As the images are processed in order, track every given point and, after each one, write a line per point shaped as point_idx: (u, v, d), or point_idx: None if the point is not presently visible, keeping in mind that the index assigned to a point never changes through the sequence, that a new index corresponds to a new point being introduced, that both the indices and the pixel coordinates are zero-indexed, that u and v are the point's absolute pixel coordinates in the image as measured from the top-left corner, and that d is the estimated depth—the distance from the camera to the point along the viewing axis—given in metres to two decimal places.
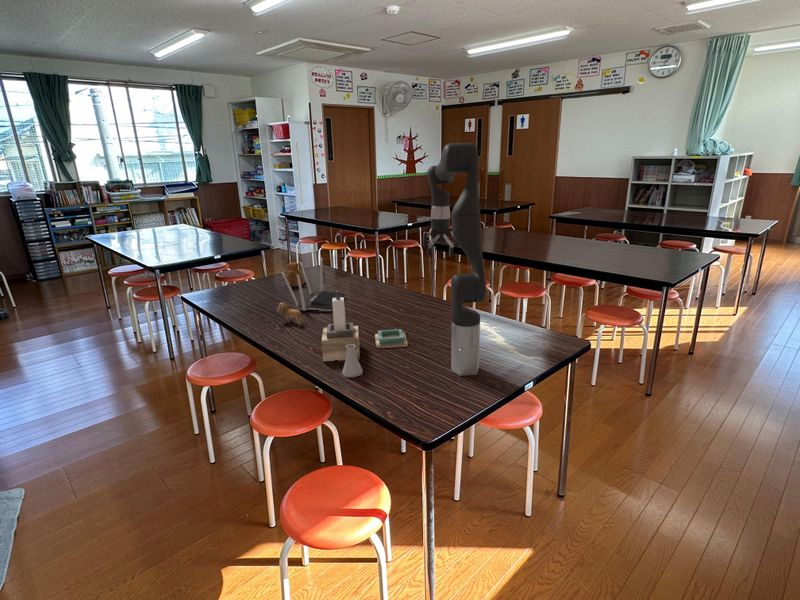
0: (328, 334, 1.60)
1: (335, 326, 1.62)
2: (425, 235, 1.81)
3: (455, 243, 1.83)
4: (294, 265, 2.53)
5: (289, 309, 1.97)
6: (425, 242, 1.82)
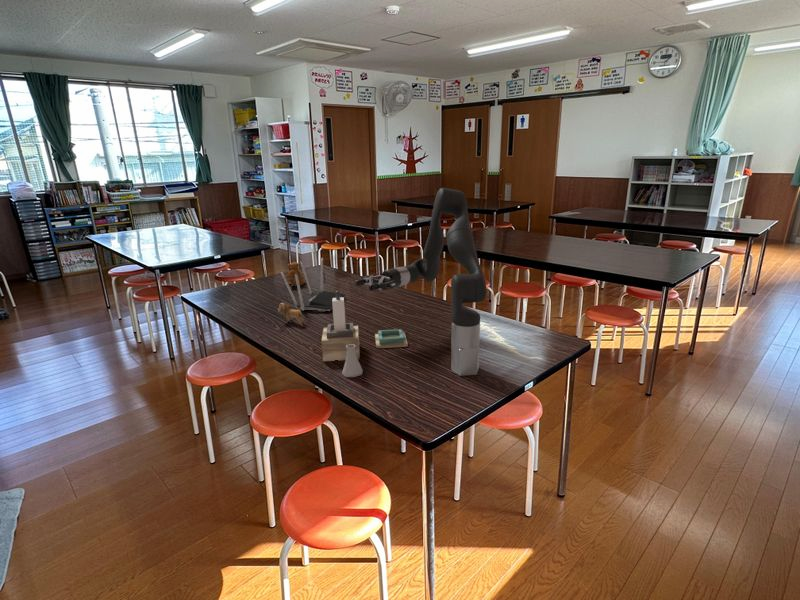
0: (328, 334, 1.60)
1: (335, 326, 1.62)
2: (372, 274, 1.77)
3: (384, 283, 1.65)
4: (294, 265, 2.54)
5: (290, 309, 1.97)
6: (366, 276, 1.75)
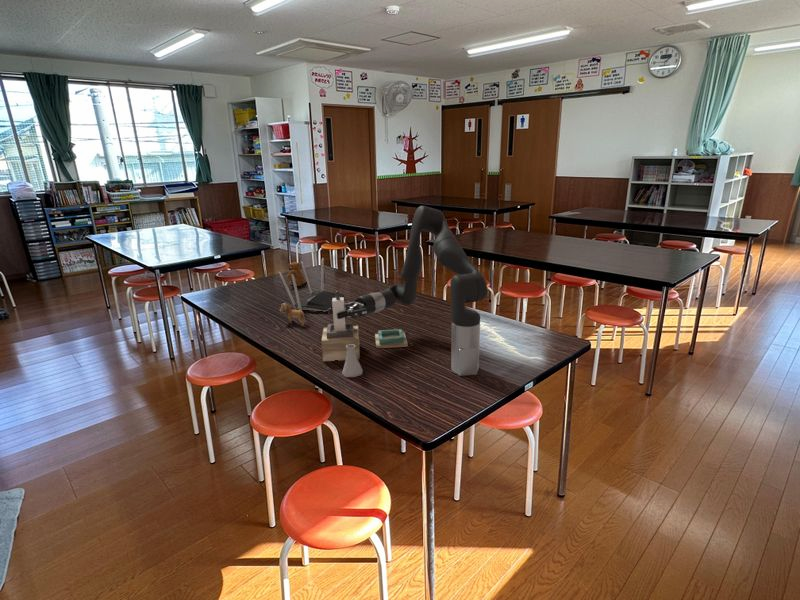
0: (328, 334, 1.60)
1: (335, 326, 1.62)
2: (344, 301, 1.70)
3: (353, 310, 1.60)
4: (295, 265, 2.54)
5: (292, 310, 1.96)
6: None
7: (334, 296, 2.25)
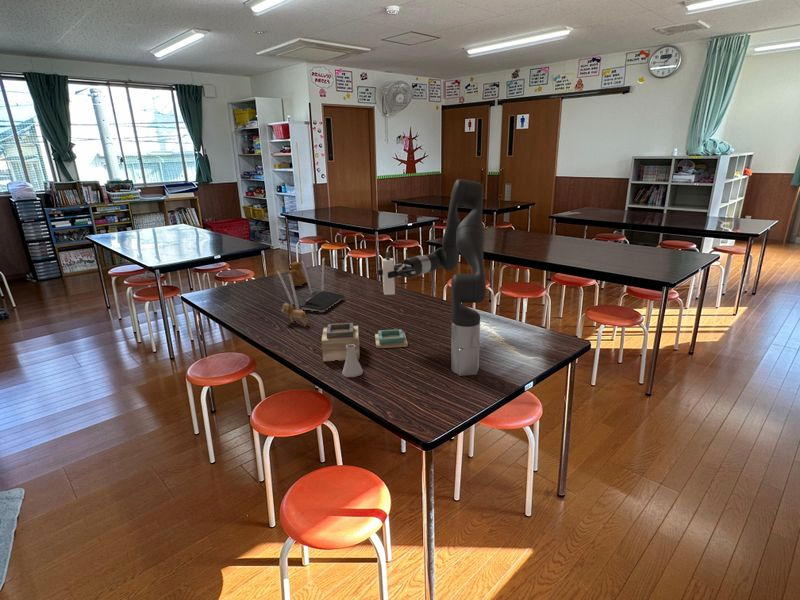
0: (328, 334, 1.60)
1: (385, 286, 1.67)
2: None
3: (403, 270, 1.66)
4: (296, 265, 2.54)
5: (294, 310, 1.96)
6: None
7: (333, 296, 2.25)
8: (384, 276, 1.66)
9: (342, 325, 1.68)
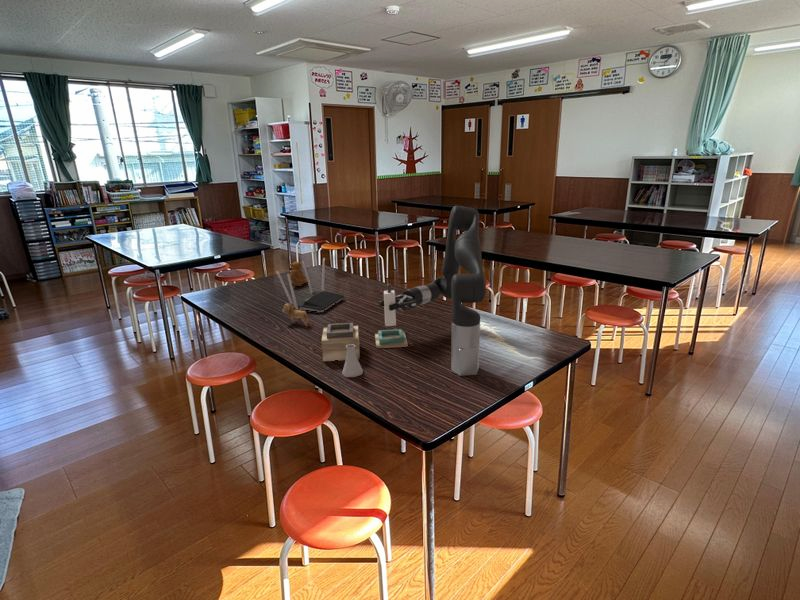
0: (328, 334, 1.60)
1: (386, 317, 1.71)
2: None
3: (404, 302, 1.70)
4: (297, 264, 2.54)
5: (295, 310, 1.96)
6: None
7: (333, 297, 2.24)
8: (385, 308, 1.70)
9: (342, 325, 1.68)
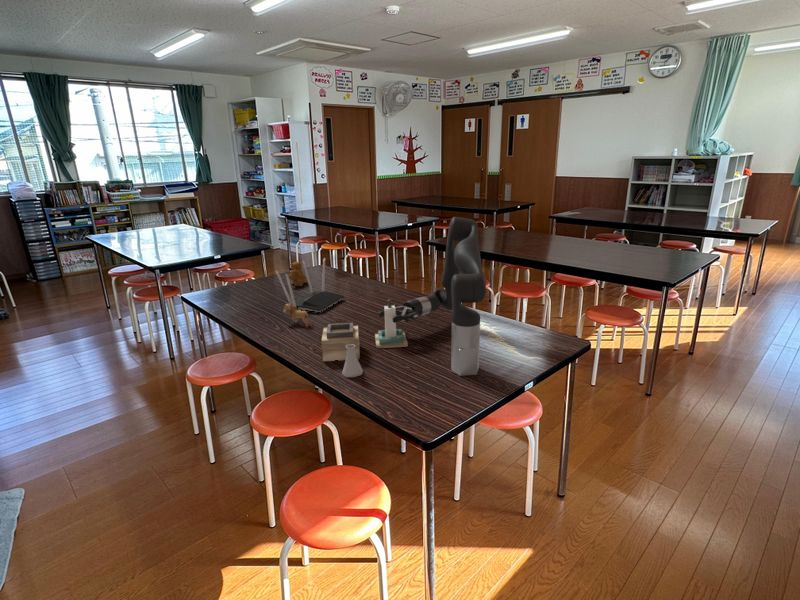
0: (328, 334, 1.60)
1: (387, 332, 1.73)
2: None
3: (407, 314, 1.71)
4: (297, 264, 2.55)
5: (296, 310, 1.95)
6: None
7: (332, 297, 2.24)
8: (386, 323, 1.72)
9: (342, 325, 1.68)
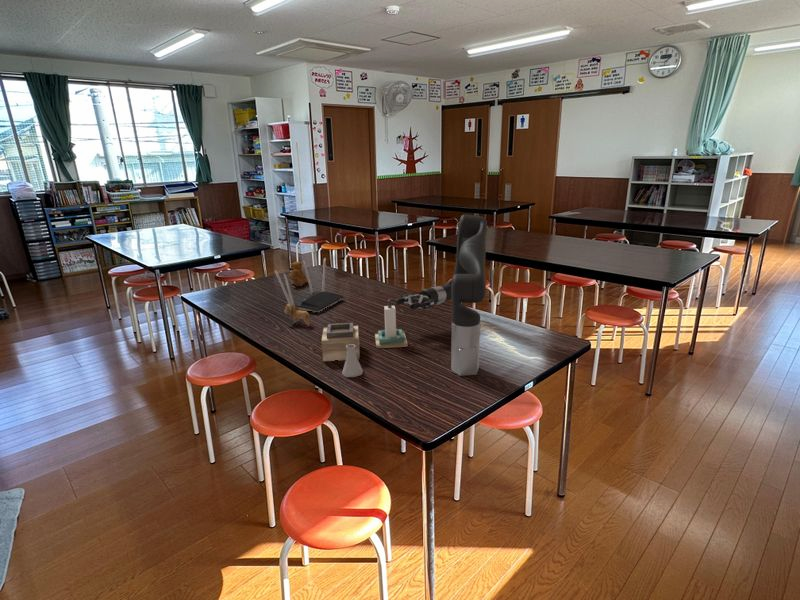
0: (328, 334, 1.60)
1: (387, 332, 1.73)
2: (410, 293, 1.86)
3: (424, 302, 1.75)
4: (297, 264, 2.55)
5: (297, 310, 1.95)
6: (405, 295, 1.85)
7: (332, 297, 2.24)
8: (386, 323, 1.72)
9: (342, 325, 1.68)
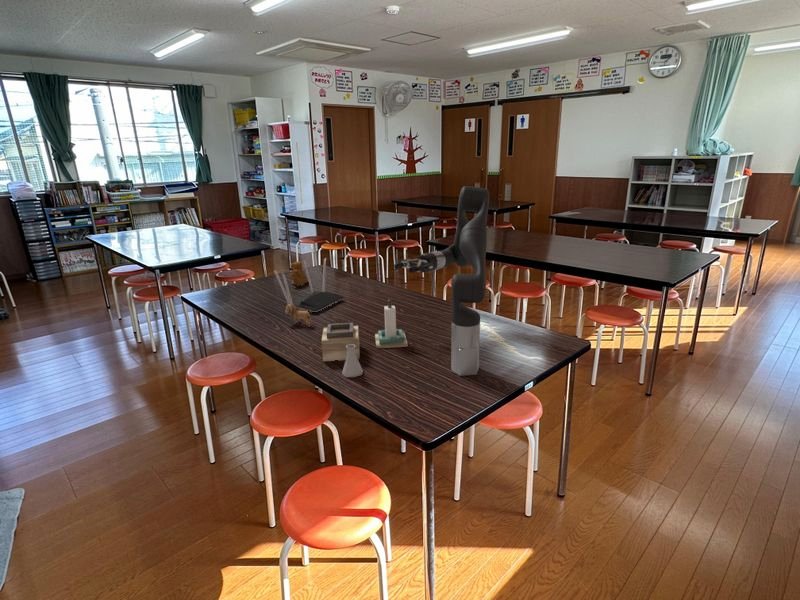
0: (328, 334, 1.60)
1: (387, 332, 1.73)
2: None
3: (422, 265, 1.71)
4: (298, 264, 2.55)
5: (297, 310, 1.95)
6: (403, 260, 1.81)
7: (331, 297, 2.24)
8: (386, 323, 1.72)
9: (342, 325, 1.68)
